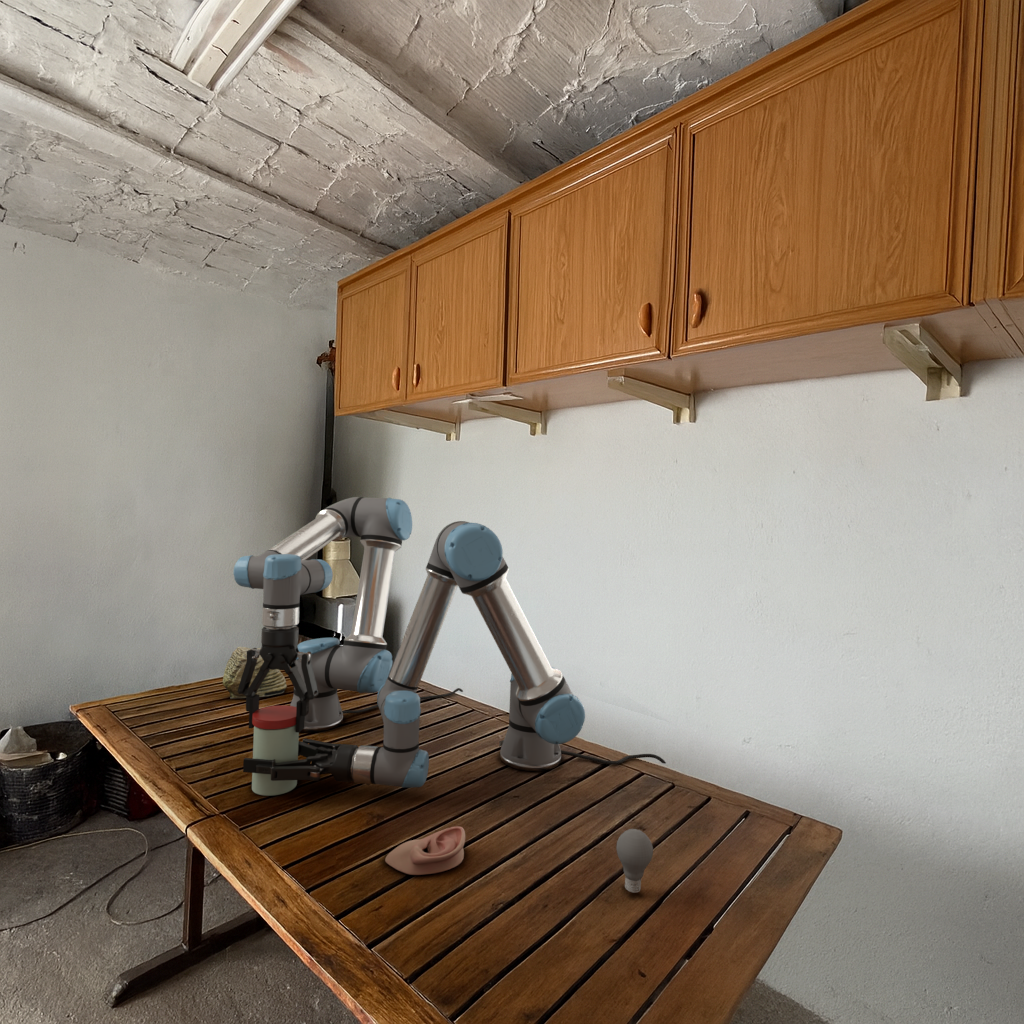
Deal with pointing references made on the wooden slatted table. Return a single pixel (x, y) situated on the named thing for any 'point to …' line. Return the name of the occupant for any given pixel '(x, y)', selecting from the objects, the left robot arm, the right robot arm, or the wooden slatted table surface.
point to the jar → (274, 757)
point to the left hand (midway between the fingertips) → (276, 728)
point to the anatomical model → (429, 853)
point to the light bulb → (634, 857)
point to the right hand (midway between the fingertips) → (255, 755)
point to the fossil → (234, 671)
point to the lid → (274, 717)
